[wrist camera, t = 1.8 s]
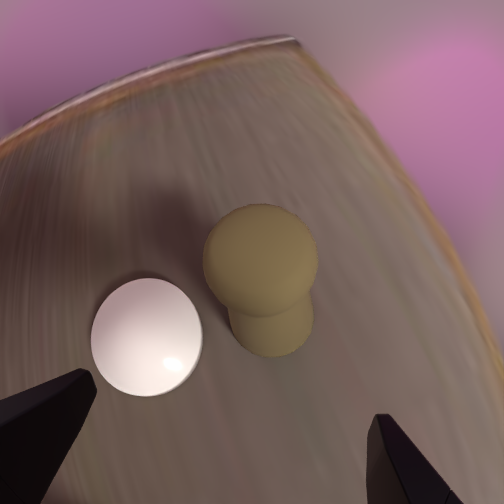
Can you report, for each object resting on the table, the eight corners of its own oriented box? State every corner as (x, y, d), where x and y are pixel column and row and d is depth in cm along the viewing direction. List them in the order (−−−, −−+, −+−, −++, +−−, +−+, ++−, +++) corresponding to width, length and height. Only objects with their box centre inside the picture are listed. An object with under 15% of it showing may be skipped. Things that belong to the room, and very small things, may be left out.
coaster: (144, 420, 20) (138, 420, 19) (79, 336, 24) (73, 333, 23) (228, 335, 23) (226, 332, 22) (152, 262, 26) (147, 256, 25)
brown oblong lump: (225, 284, 24) (181, 197, 15) (304, 270, 24) (310, 172, 15) (236, 364, 22) (189, 325, 12) (322, 348, 21) (348, 295, 12)
